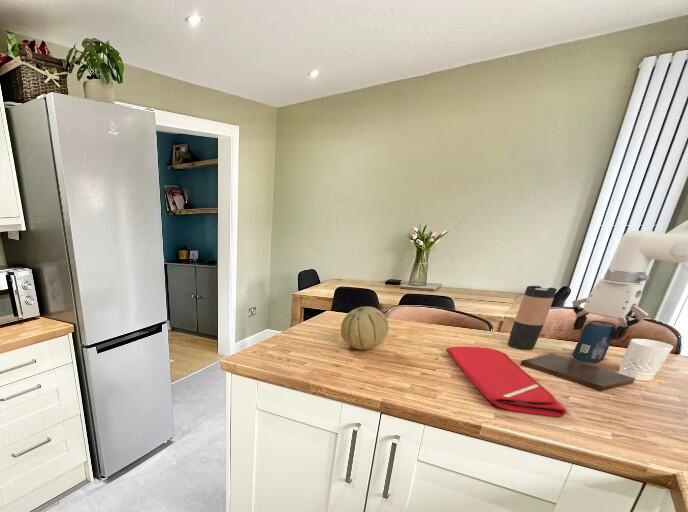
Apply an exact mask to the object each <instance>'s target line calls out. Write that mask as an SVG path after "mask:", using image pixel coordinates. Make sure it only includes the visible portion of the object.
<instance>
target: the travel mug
mask: <svg viewBox="0 0 688 512" xmlns="http://www.w3.org/2000/svg"><path fill="white" fill-rule="evenodd" d="M557 291H558V289H557V288H555V287H548V288H544V287H542V286H540V285H528V286H526V288H525V291H524V292H523V293H524V294H523V296H522V299H521V302H520V305H519V307H518V310H517V312H516V316H515V318H514V322H513V325H512V327H511V331H510V333H509V337H508V341H507V346H509V347H510V348H513V349H516V350H523V351H531V350H534V348H535V346H536V344H537V341H538V340H539V337H540V334H541V332H542V330H543V328H544V325H545V323H546V320H547V317H548V315H549V313H550V309H551V307H552V304H553V302H554V298H555V296H556V293H557Z"/></svg>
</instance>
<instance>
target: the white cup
mask: <svg viewBox="0 0 688 512" xmlns="http://www.w3.org/2000/svg"><path fill="white" fill-rule="evenodd" d="M673 349H674V346H673V345H672V344H670V343H668V342H663V341H659V340H654V339H648V338H632V339H630V341H629V343H628V346H627V348H626V350H625V352H624V356H623V358H622V360H621V363H620V367H619V369H618V372H617V373H619V374H622V375H625V376H629V377H632V378H635V380H634V381H640V382H650V381H653V379H654V378H655V376H656V374H657V373H658V372H659V370H660V369H661V367H662V366H663V364H664V363H665V361H666V360H667V358H668V357H669V355H670V353H671V352H672V350H673Z"/></svg>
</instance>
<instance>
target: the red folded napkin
mask: <svg viewBox="0 0 688 512" xmlns="http://www.w3.org/2000/svg"><path fill="white" fill-rule="evenodd" d="M445 351H446V353H447V354H448V355H449V356H450V358H451V359H452V361H454V363H455V364H456V365H457V367H458V368H459V369H460V370H461V371H462V372H463V374H464V375H465V376H466V377H467V379H468V380H469V381H470V382H471V384H472V385H473V386H474V387H475V389H477V390H478V391H479V392H480V393H481V394H482V395H483V396H484V397H485V398H486V399H487V400H488V401H489V402H491V403H492V404H493V405H494V406H497V407H498V408H500V409H503V410H506V411H512V412H516V413H517V412H518V413H525V414H532V415H539V416H545V415H546V417H553V416H554V418H562V417H564V416H565V415H566V413H567V410H566V408H565V407H564V406H563V405H561V404H560V403H559V402H558V401H557V400H556V398H555V396H554V395H553V394H552V393H550V392H549V391H548V390H547V389H545V388H544V387H543V386H542V385H541V384H540V383H539V382H538V381H536V380H535V379H534V378H533V377H532V376H531V375H529V373H527V372H526V370H525V371H524V369H522V367H520V365H518V364H517V363H516V362H515V361H513V359H511V358H510V357H509V355H507V354H506V353H505V352H503V351H500V350H497V349H495V348H489V347H480V346H450V347H447V348H445Z"/></svg>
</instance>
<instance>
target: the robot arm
mask: <svg viewBox="0 0 688 512" xmlns="http://www.w3.org/2000/svg"><path fill="white" fill-rule="evenodd" d="M652 260H655V261H661V262H666V263H667V262H668V263H674V264H675V263H677V264H678V263H686V262H688V219H687V220H685V221H684V222H682V223H681V224H679V225H677V226H675V227H673V229H670V230H669V231H668V232H666V233H661V232H659V231H653V230H629V231H626V232H625V233H624V234H622V236H621V238H620V241H619V243H618V245H617V247H616V249H615V252H614V253H613V256H612V258H611V261H610V263H609V264H608V268H607V269H606V272H605V274H604V276H603V278H601V279H599V280H598V281H597V282H596V284H595V286H594V287H593V288H592V290H591V291H590V294H589V295H588V297H584V298H580V299H574V300H572V311H573V312H574V314H575V317H576V319H575V320H574V323H573V328H572V329H573V331H579V330H583V329H584V327H585V323H586V321H587V319H588V315H590V314H592V315H597V316H601V317H605V318H611V319H617V321H618V322H619V325H618V326H616V331H615V333H614V335H613V337H612V340H614V341H616V340H621V339H622V338H624V337H625V336H626V333H627V332H628V329H629V327H632V326H634V325H637V324H639V323H641V322H642V321H644V320H645V319H646V318H648V317H649V315H650V314H649V313H648V312H646V311H645V310H643V309H642V308H640V307H639V303H640V301H641V298H642V294H643V290H644V285H645V284H644V283H642V282H644V281H645V282H648V281H649V280H650V278H651V276H650V275H647V270H648V268H649V266H650V263H651V262H652ZM581 304H584V305H583V308H582V306H581ZM634 315H637V316H636V317H635V318H634V319H631V318H632V317H633V316H634Z"/></svg>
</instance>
